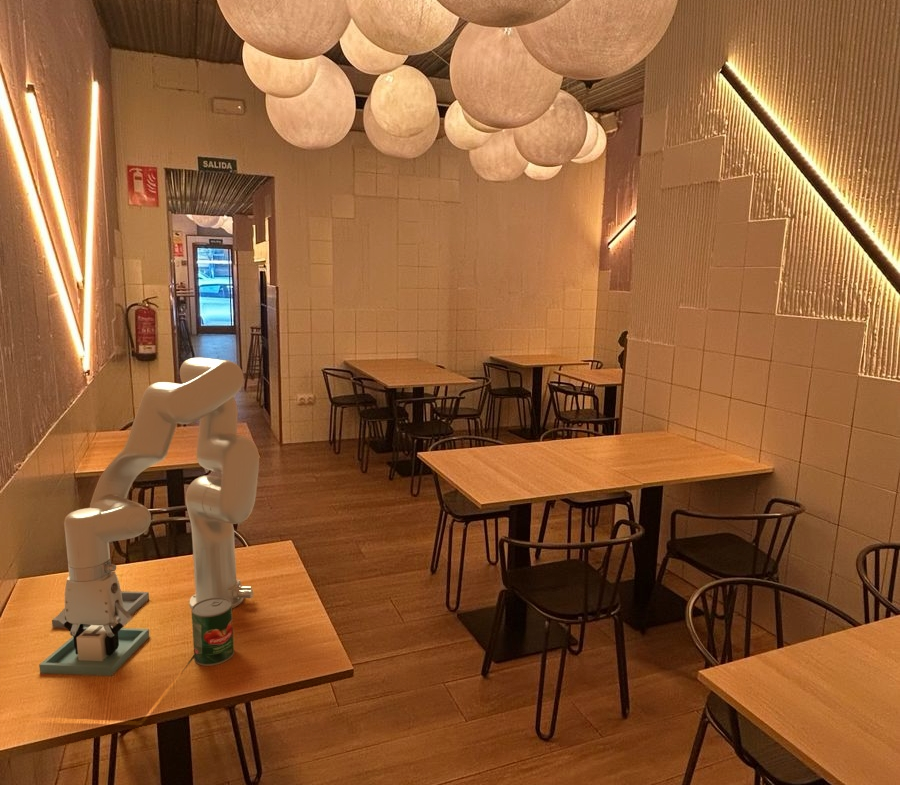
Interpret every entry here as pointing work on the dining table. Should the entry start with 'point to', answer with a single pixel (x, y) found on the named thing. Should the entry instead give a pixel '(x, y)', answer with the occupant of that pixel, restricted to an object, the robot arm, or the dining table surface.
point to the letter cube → (92, 644)
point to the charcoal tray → (130, 604)
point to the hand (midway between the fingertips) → (97, 650)
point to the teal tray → (68, 661)
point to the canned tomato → (212, 631)
